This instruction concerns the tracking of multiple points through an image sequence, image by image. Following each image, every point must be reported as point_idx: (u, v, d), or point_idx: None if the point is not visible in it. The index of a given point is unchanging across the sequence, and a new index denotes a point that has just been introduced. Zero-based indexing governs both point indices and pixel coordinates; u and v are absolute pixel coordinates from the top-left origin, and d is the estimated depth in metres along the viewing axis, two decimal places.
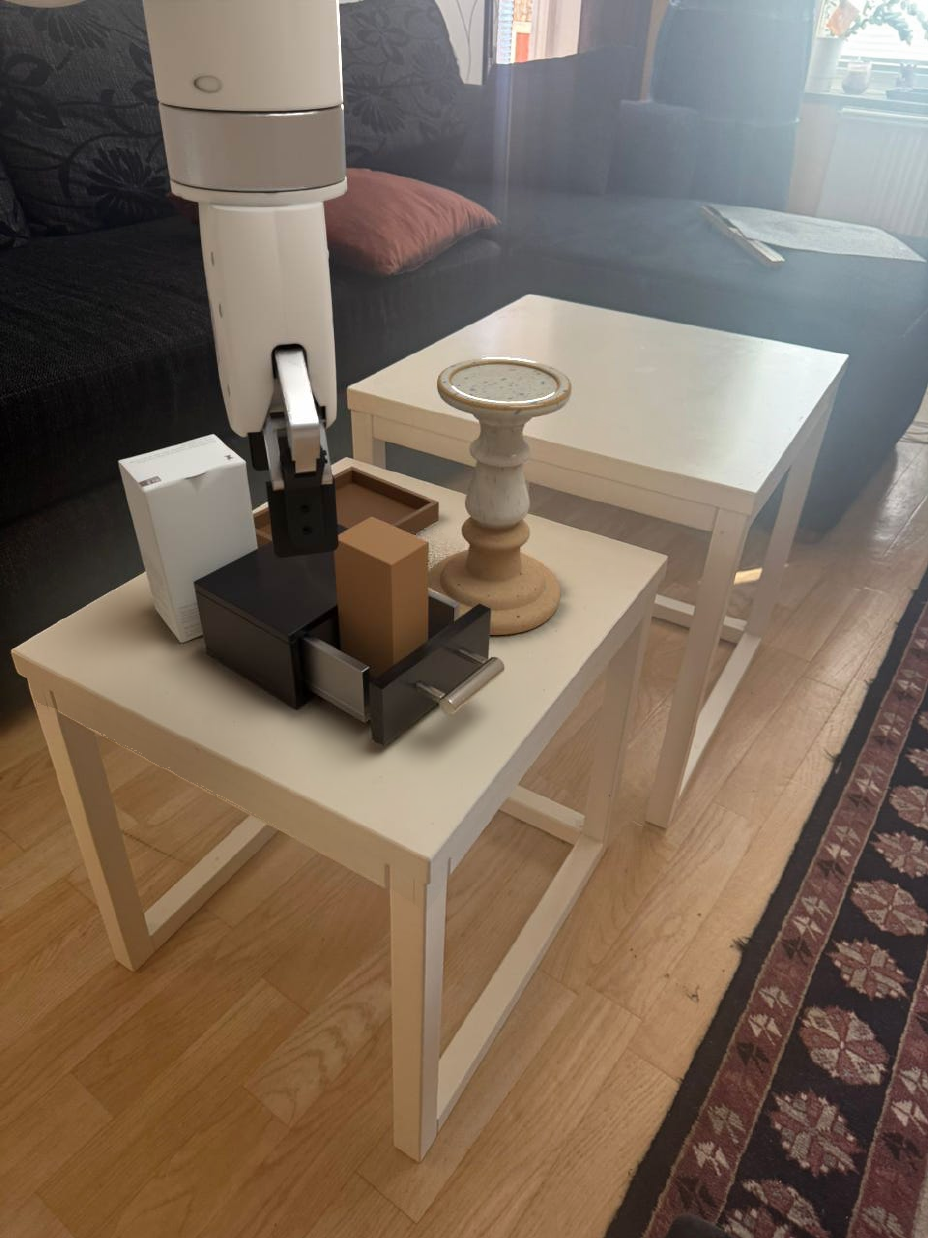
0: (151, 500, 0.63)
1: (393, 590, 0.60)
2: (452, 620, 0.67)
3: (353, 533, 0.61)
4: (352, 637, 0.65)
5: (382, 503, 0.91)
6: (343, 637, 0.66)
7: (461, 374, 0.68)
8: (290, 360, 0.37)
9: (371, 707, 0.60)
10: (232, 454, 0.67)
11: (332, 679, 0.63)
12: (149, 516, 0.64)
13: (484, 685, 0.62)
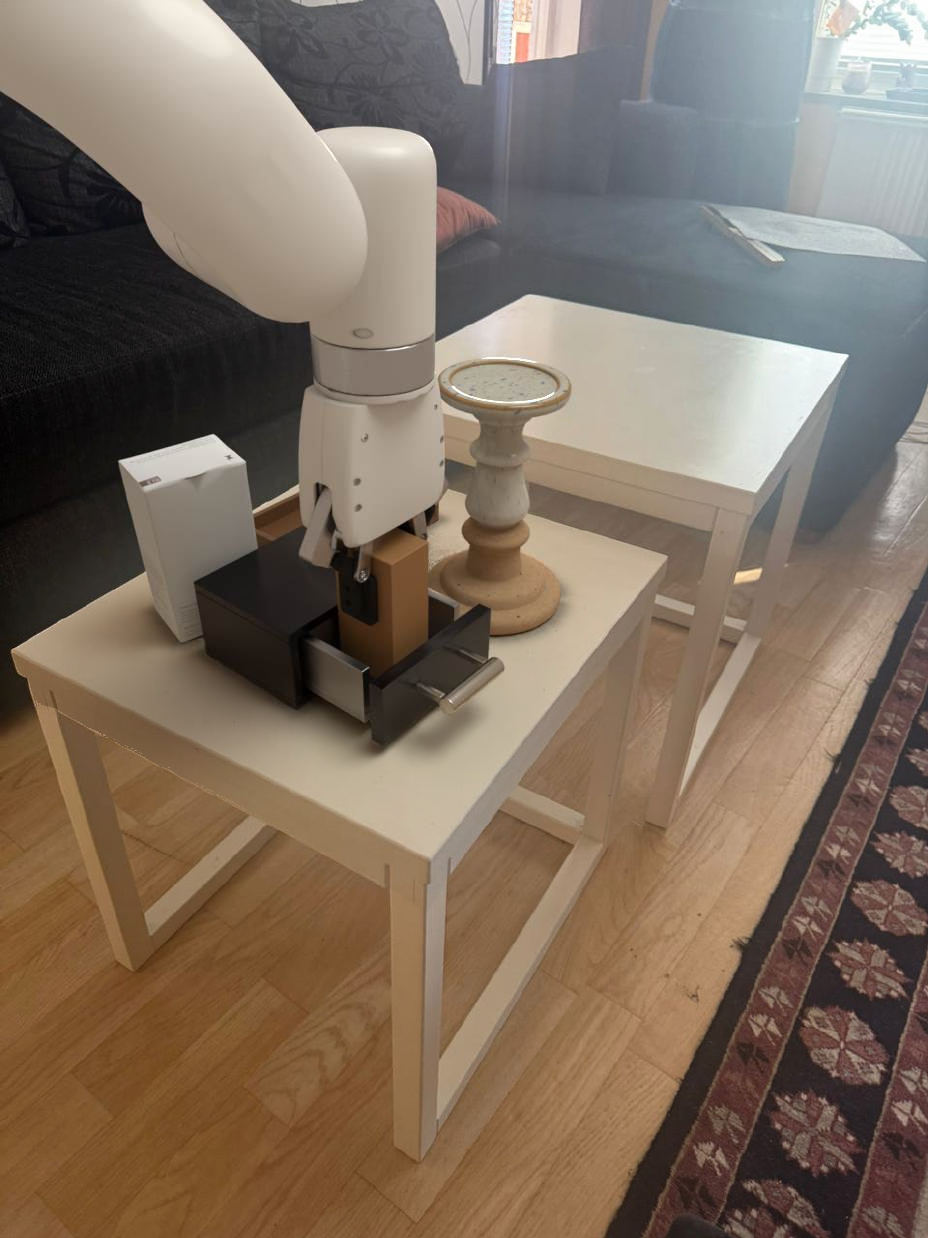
0: (151, 500, 0.63)
1: (393, 590, 0.60)
2: (452, 620, 0.67)
3: None
4: (352, 637, 0.65)
5: None
6: (343, 637, 0.66)
7: (461, 374, 0.68)
8: (323, 505, 0.55)
9: (371, 707, 0.60)
10: (232, 454, 0.67)
11: (332, 679, 0.63)
12: (149, 516, 0.64)
13: (484, 685, 0.62)
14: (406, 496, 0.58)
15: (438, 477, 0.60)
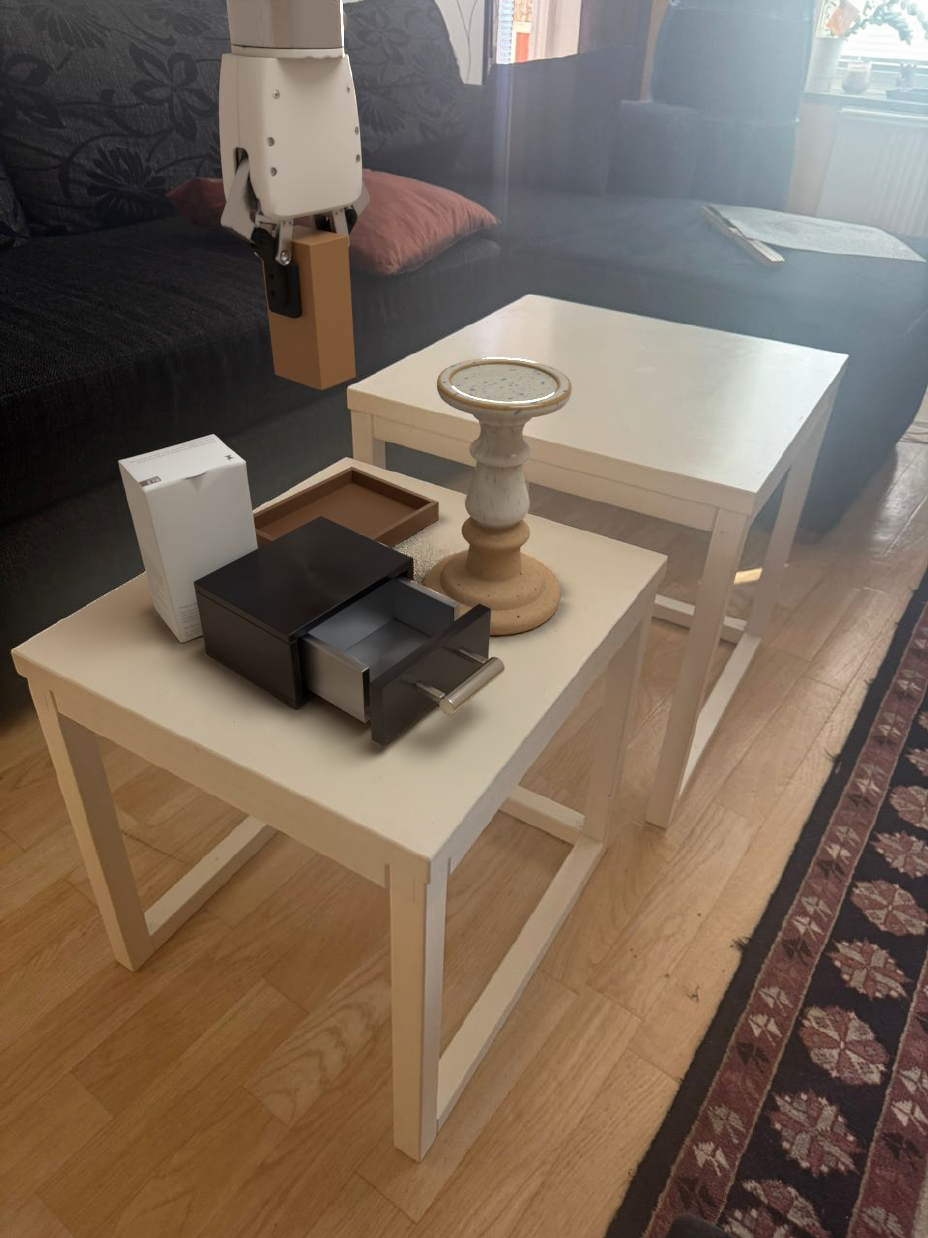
0: (151, 500, 0.63)
1: (313, 275, 0.64)
2: (452, 620, 0.67)
3: None
4: (282, 344, 0.70)
5: (382, 503, 0.91)
6: (275, 347, 0.70)
7: (461, 374, 0.68)
8: (242, 171, 0.60)
9: (371, 707, 0.60)
10: (232, 454, 0.67)
11: (332, 679, 0.63)
12: (149, 516, 0.64)
13: (484, 685, 0.62)
14: (322, 178, 0.62)
15: (355, 172, 0.65)
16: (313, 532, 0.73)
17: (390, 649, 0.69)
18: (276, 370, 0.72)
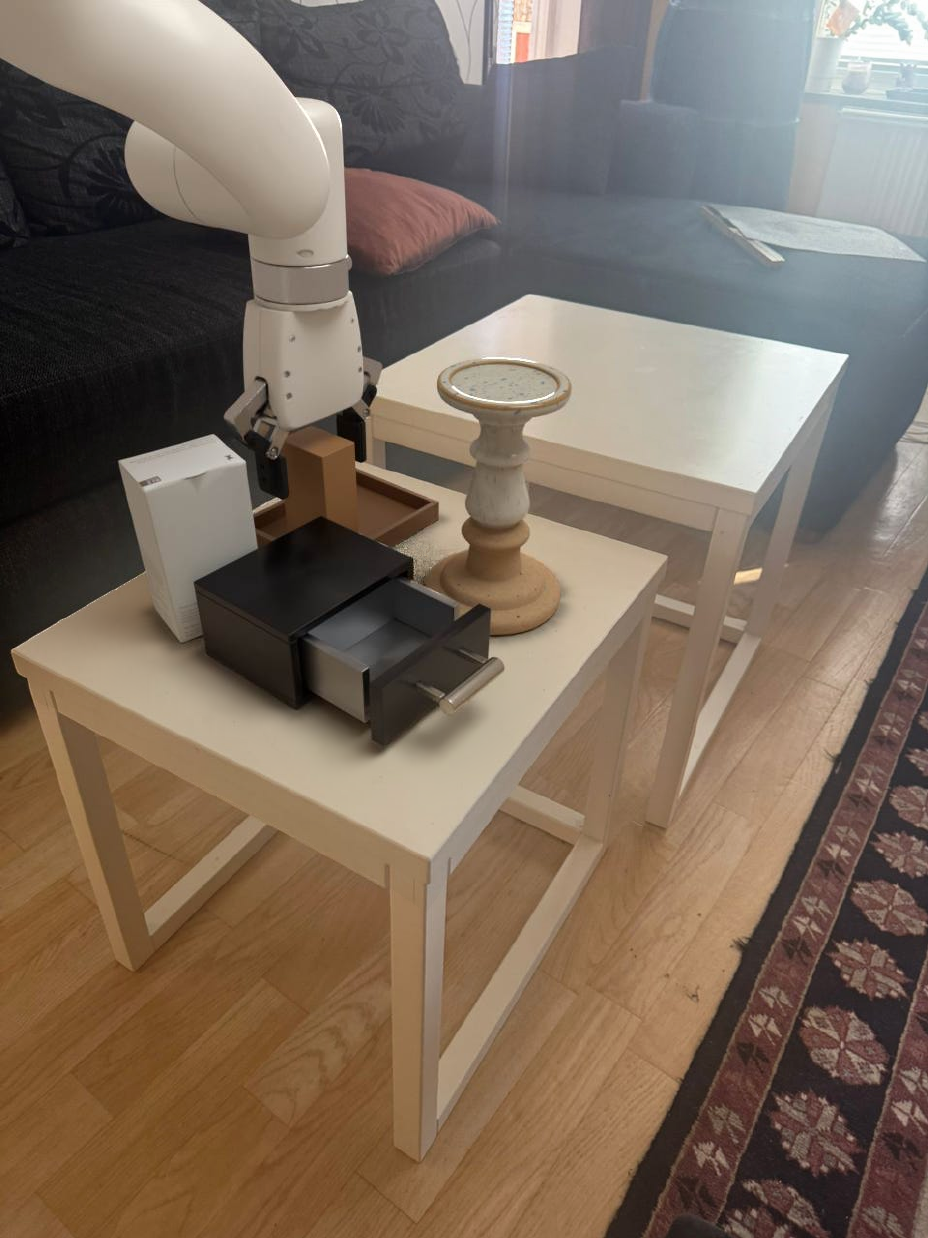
0: (151, 500, 0.63)
1: (325, 479, 0.76)
2: (452, 620, 0.67)
3: (295, 436, 0.77)
4: (296, 524, 0.81)
5: (382, 503, 0.91)
6: (290, 525, 0.82)
7: (461, 374, 0.68)
8: (257, 385, 0.69)
9: (371, 707, 0.60)
10: (232, 454, 0.67)
11: (332, 679, 0.63)
12: (149, 516, 0.64)
13: (484, 685, 0.62)
14: (330, 392, 0.73)
15: (358, 381, 0.75)
16: (313, 532, 0.73)
17: (390, 649, 0.69)
18: None
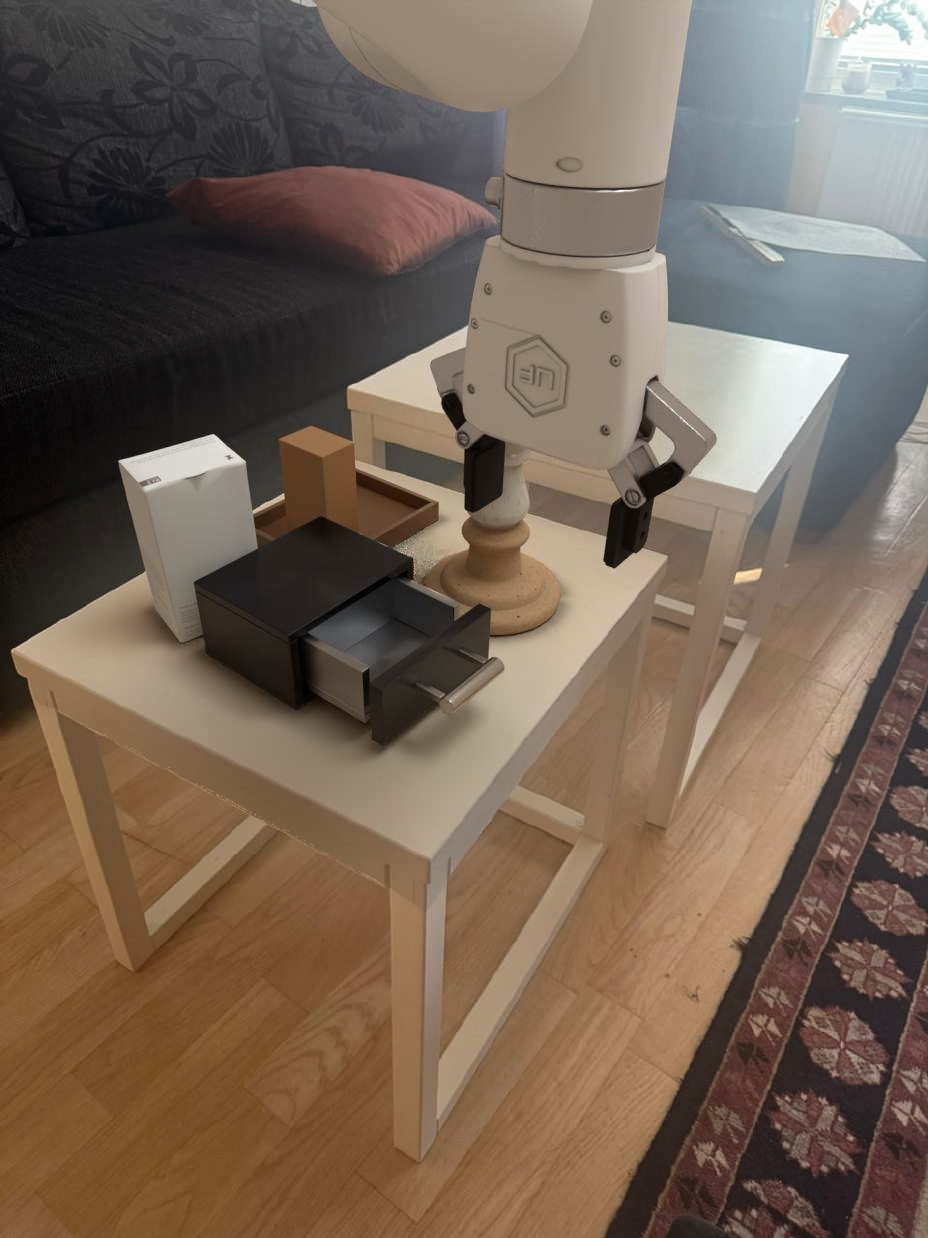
0: (151, 500, 0.63)
1: (325, 479, 0.76)
2: (452, 620, 0.67)
3: (295, 436, 0.77)
4: (296, 524, 0.81)
5: (382, 503, 0.91)
6: (290, 525, 0.82)
7: None
8: (659, 390, 0.43)
9: (371, 707, 0.60)
10: (232, 454, 0.67)
11: (332, 679, 0.63)
12: (149, 516, 0.64)
13: (484, 685, 0.62)
14: None
15: None
16: (313, 532, 0.73)
17: (390, 649, 0.69)
18: None
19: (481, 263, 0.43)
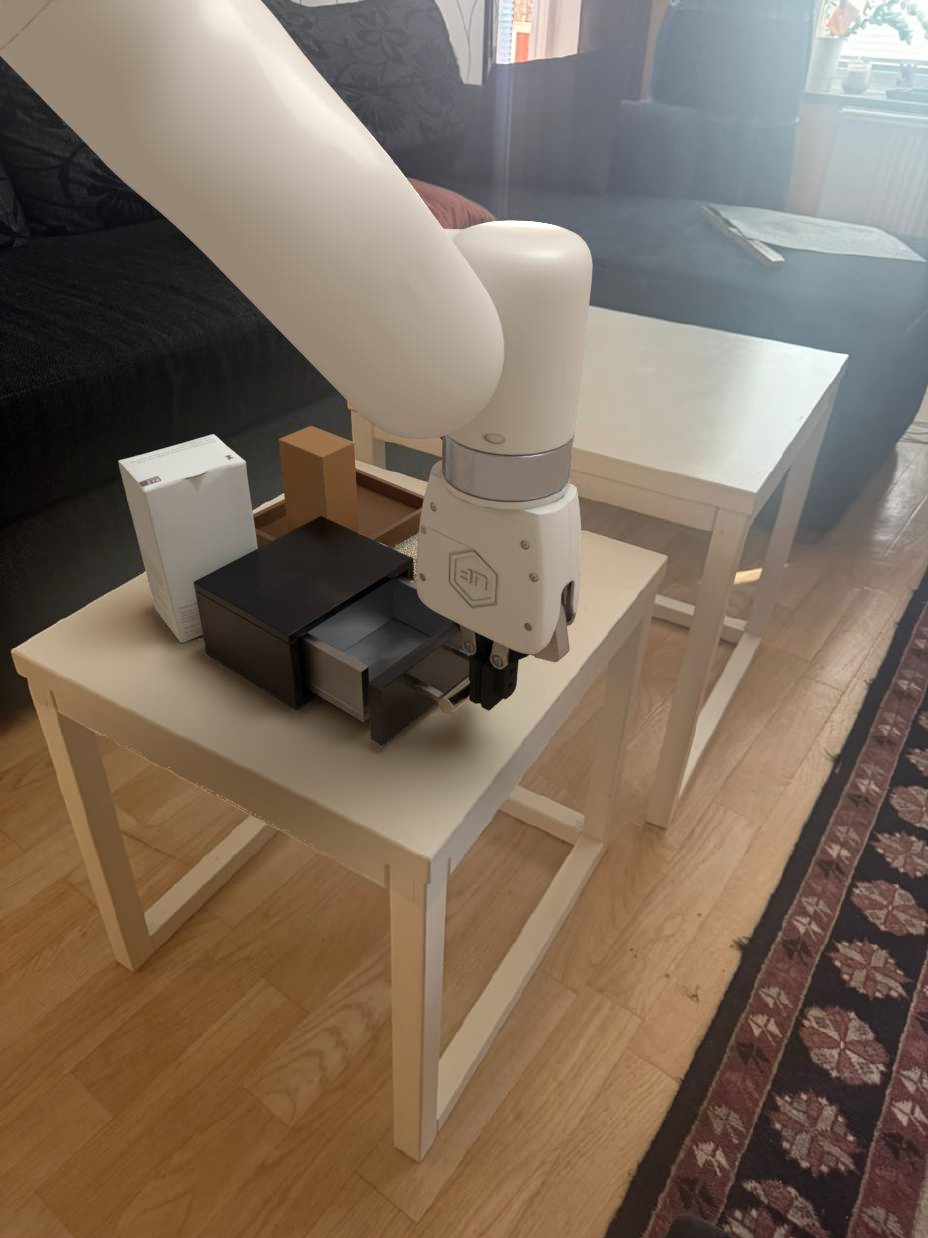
0: (151, 500, 0.63)
1: (325, 479, 0.76)
2: (451, 620, 0.67)
3: (295, 436, 0.77)
4: (296, 524, 0.81)
5: (382, 503, 0.91)
6: (290, 525, 0.82)
7: None
8: None
9: (370, 706, 0.60)
10: (232, 454, 0.67)
11: (332, 678, 0.63)
12: (149, 516, 0.64)
13: None
14: None
15: None
16: (313, 532, 0.73)
17: (389, 649, 0.69)
18: None
19: (428, 486, 0.52)
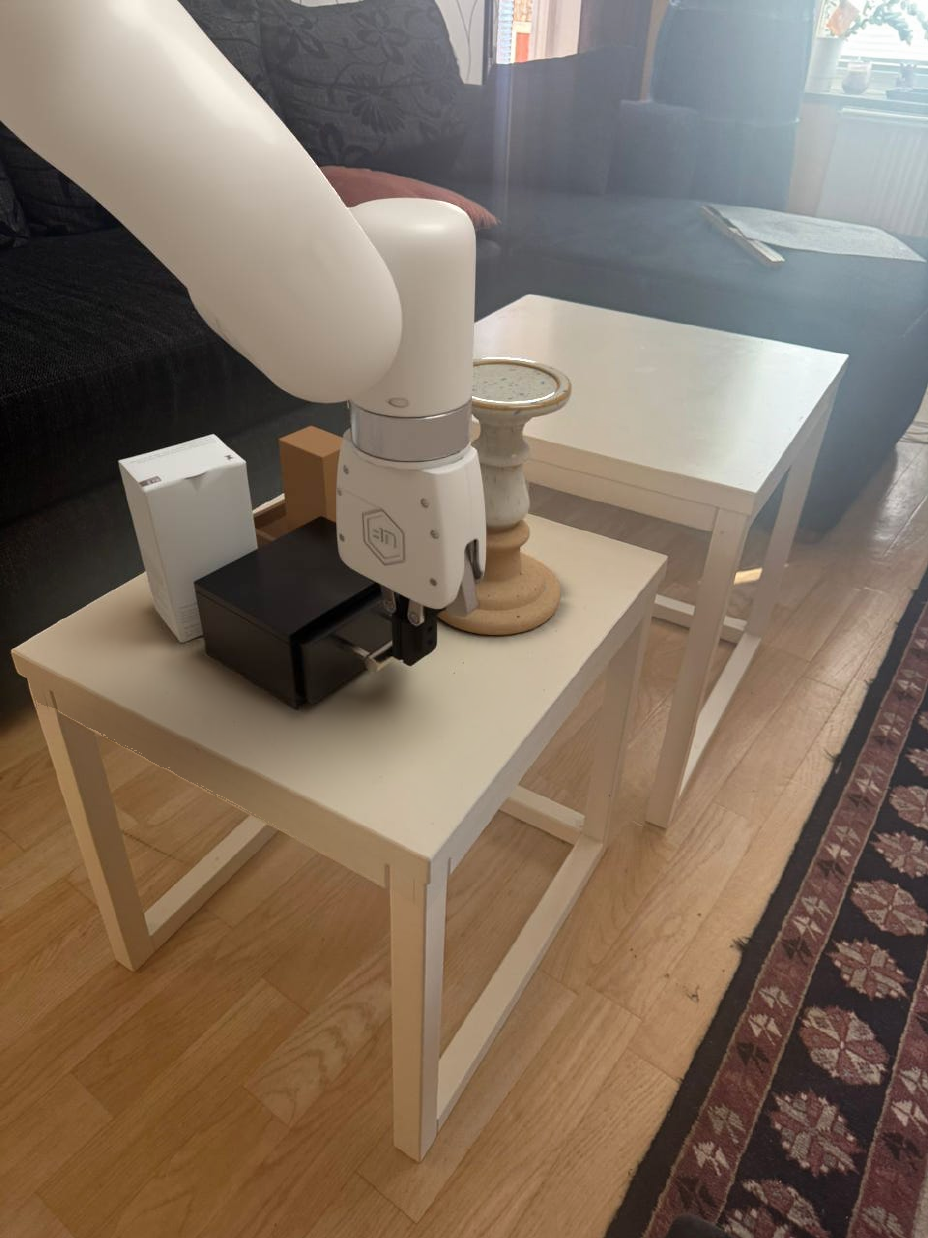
0: (151, 500, 0.63)
1: (325, 479, 0.76)
2: None
3: (295, 436, 0.77)
4: (296, 524, 0.81)
5: None
6: (290, 525, 0.82)
7: None
8: (464, 564, 0.56)
9: (299, 665, 0.63)
10: (232, 454, 0.67)
11: None
12: (149, 516, 0.64)
13: None
14: None
15: None
16: (313, 532, 0.73)
17: None
18: None
19: (340, 450, 0.56)
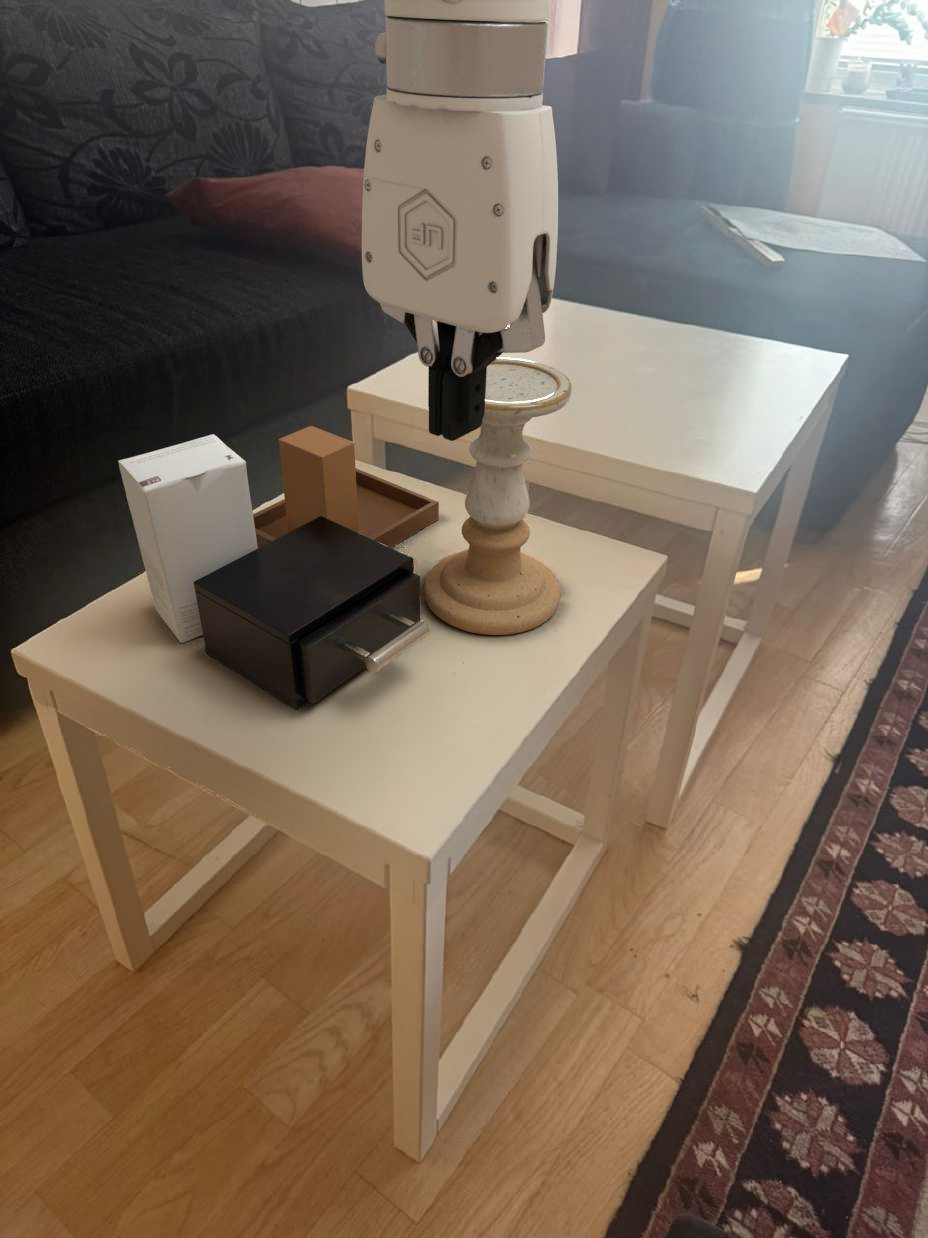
0: (151, 500, 0.63)
1: (325, 479, 0.76)
2: (384, 587, 0.71)
3: (295, 436, 0.77)
4: (296, 524, 0.81)
5: (382, 503, 0.91)
6: (290, 525, 0.82)
7: None
8: None
9: (299, 665, 0.63)
10: (232, 454, 0.67)
11: None
12: (149, 516, 0.64)
13: (409, 646, 0.65)
14: None
15: None
16: (313, 532, 0.73)
17: None
18: None
19: (371, 119, 0.43)
